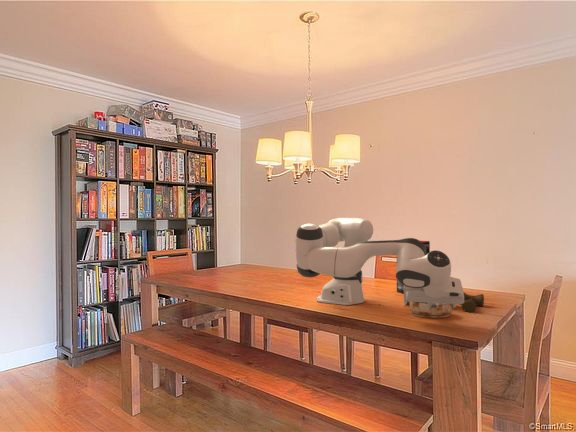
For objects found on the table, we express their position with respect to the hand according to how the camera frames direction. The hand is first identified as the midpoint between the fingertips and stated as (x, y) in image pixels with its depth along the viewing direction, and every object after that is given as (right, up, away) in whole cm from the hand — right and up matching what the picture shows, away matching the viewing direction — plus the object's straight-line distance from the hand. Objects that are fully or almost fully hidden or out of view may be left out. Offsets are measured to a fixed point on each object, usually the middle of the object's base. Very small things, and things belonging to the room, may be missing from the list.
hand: (433, 305), depth 143 cm
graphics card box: (+7, -5, +43) cm, 44 cm away
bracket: (+6, -5, +21) cm, 22 cm away
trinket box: (+1, -5, +6) cm, 8 cm away
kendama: (+23, -5, +17) cm, 29 cm away
